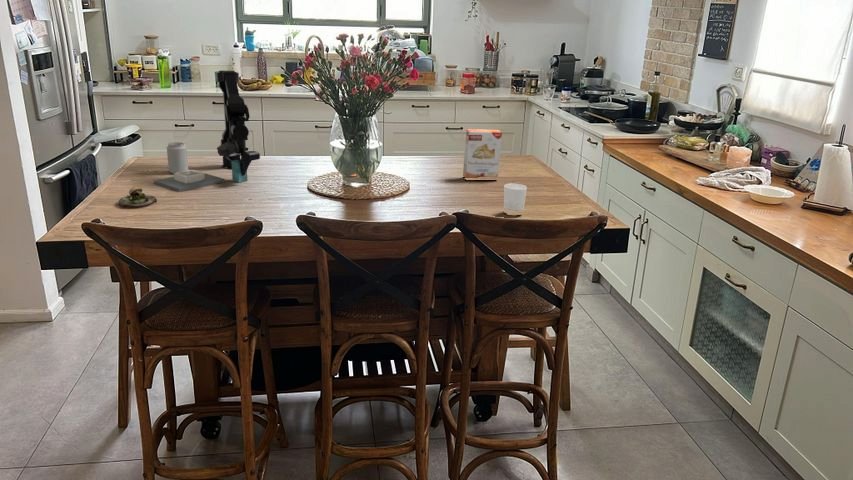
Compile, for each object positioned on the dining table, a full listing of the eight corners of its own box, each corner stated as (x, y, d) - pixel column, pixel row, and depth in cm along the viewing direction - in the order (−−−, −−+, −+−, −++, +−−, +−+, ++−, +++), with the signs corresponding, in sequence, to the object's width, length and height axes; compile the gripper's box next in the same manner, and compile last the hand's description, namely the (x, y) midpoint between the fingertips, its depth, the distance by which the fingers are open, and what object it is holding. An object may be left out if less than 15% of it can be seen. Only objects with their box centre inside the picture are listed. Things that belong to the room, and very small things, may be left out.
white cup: (500, 210, 238) (502, 183, 235) (521, 210, 239) (524, 183, 236) (504, 216, 231) (506, 189, 228) (526, 217, 232) (529, 189, 228)
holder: (199, 174, 266) (198, 165, 265) (224, 181, 257) (224, 172, 256) (154, 183, 251) (153, 174, 250) (179, 191, 242) (178, 182, 241)
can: (191, 170, 271) (189, 141, 267) (183, 175, 264) (181, 145, 260) (174, 169, 271) (171, 140, 267) (165, 174, 264) (162, 144, 260)
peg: (240, 178, 262) (239, 159, 259) (247, 180, 260) (246, 160, 257) (232, 180, 259) (231, 160, 256) (239, 182, 257) (238, 162, 254)
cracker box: (465, 181, 274) (468, 131, 267) (462, 177, 280) (465, 128, 273) (498, 181, 277) (502, 131, 269) (494, 177, 282) (498, 129, 275)
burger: (119, 210, 219) (116, 189, 217) (119, 200, 230) (116, 180, 227) (157, 208, 224) (155, 186, 222) (156, 198, 234) (154, 177, 232)
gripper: (204, 133, 252) (207, 173, 258) (236, 141, 242) (238, 182, 247) (228, 130, 261) (230, 168, 266) (260, 137, 251) (261, 177, 256)
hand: (239, 174), depth 259 cm, fingers closed on peg, 4 cm apart
